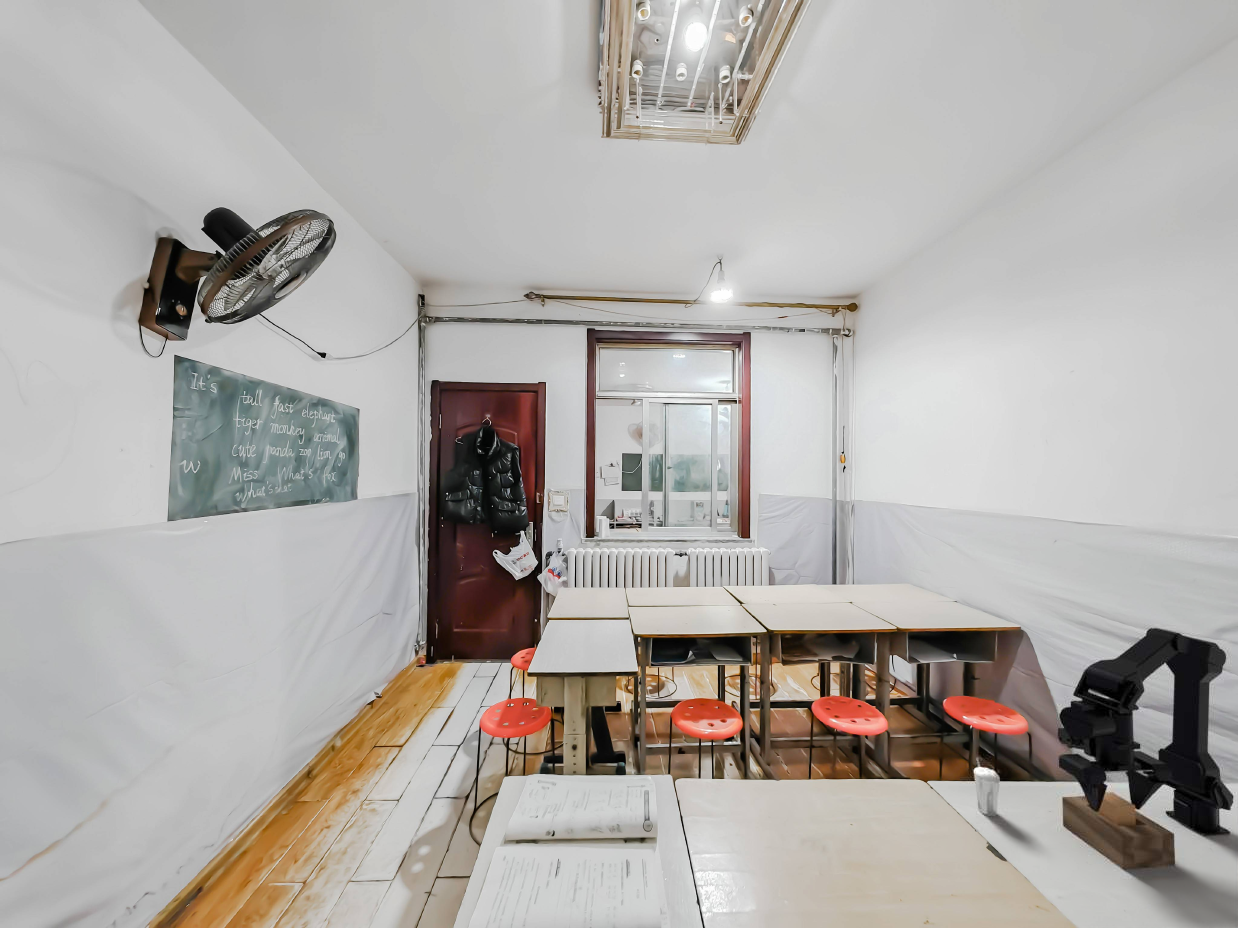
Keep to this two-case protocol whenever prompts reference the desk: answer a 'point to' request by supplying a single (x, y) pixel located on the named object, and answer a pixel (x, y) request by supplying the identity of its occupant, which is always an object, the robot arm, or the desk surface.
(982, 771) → the milkshake
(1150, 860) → the socket
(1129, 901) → the desk surface
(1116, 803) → the peg
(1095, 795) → the robot arm
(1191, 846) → the desk surface
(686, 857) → the desk surface
